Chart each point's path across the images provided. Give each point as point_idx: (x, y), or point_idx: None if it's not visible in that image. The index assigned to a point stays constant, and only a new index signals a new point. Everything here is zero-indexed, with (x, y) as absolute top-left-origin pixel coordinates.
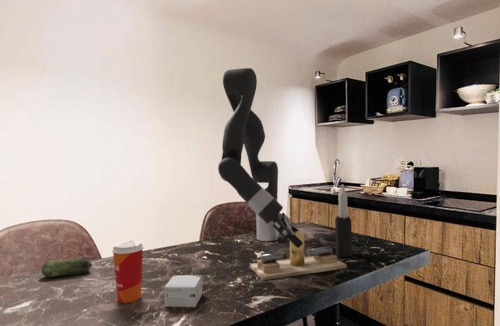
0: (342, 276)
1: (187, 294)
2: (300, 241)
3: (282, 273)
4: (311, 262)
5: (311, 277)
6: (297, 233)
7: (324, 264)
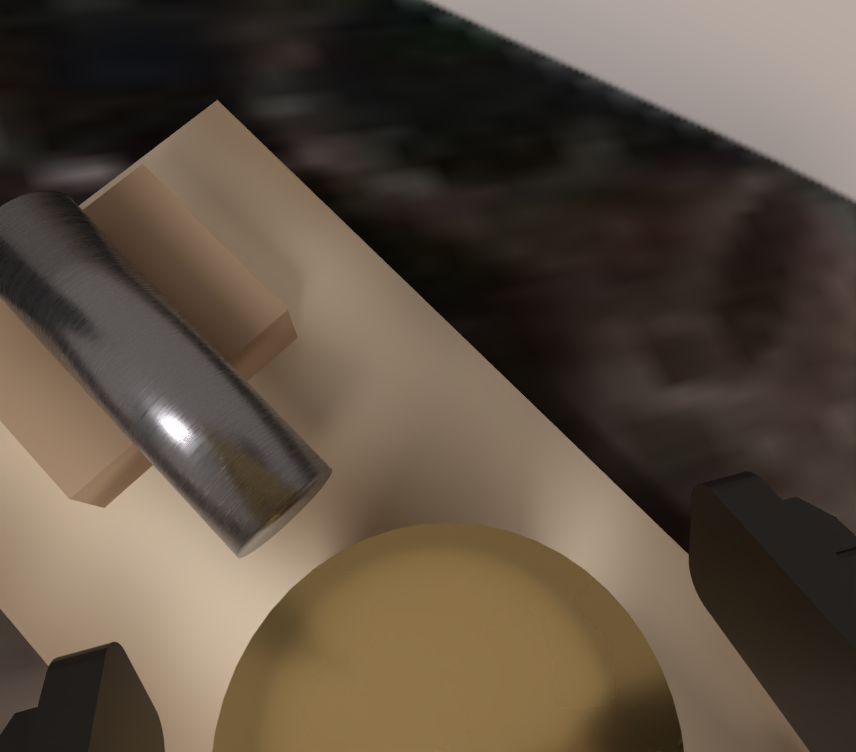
0: (492, 126)
1: None
2: (781, 511)
3: None
4: None
5: (661, 395)
6: (543, 710)
7: (297, 324)
